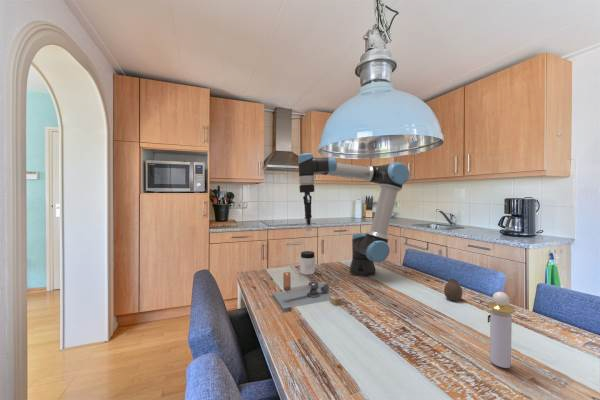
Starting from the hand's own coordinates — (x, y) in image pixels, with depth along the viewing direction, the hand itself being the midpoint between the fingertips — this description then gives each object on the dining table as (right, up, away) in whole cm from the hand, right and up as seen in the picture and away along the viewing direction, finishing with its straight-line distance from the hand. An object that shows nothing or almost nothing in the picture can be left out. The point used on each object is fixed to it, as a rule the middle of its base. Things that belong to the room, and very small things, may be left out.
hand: (308, 230), depth 132 cm
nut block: (+10, -27, -23) cm, 36 cm away
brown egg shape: (+62, -28, -19) cm, 71 cm away
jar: (0, -28, +22) cm, 35 cm away
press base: (-2, -28, -17) cm, 33 cm away
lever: (-2, -26, -18) cm, 32 cm away
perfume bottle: (+50, -29, -62) cm, 85 cm away
